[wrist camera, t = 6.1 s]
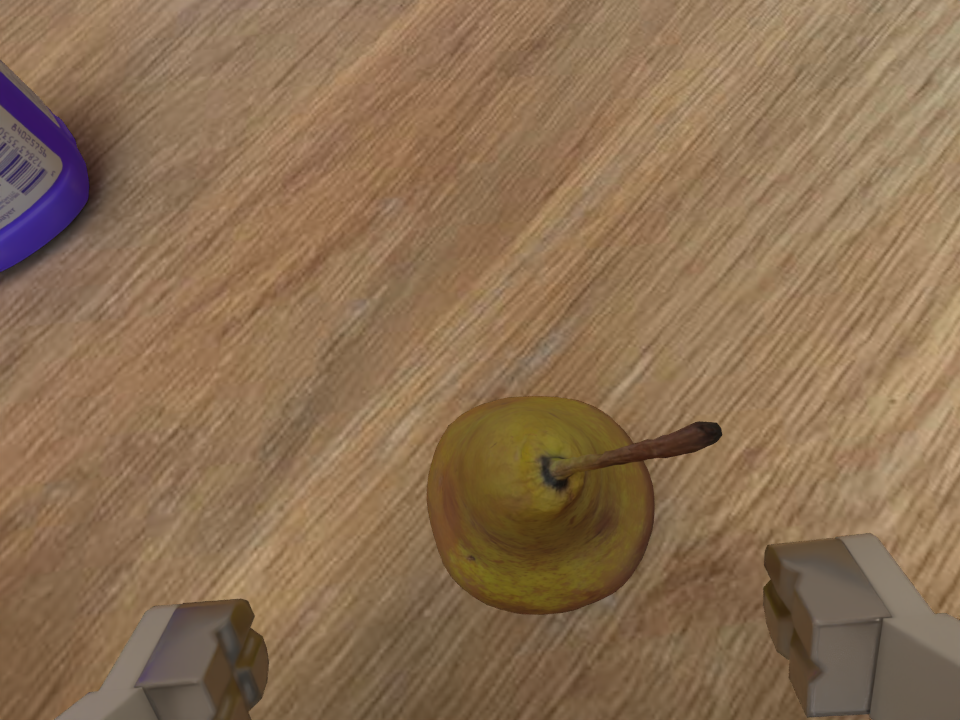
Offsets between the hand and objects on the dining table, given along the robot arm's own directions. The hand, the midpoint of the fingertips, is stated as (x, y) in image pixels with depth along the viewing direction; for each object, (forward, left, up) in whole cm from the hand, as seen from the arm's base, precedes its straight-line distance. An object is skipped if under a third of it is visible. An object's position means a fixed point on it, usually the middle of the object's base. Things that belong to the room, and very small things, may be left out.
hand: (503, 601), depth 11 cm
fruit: (+2, -1, -9) cm, 9 cm away
